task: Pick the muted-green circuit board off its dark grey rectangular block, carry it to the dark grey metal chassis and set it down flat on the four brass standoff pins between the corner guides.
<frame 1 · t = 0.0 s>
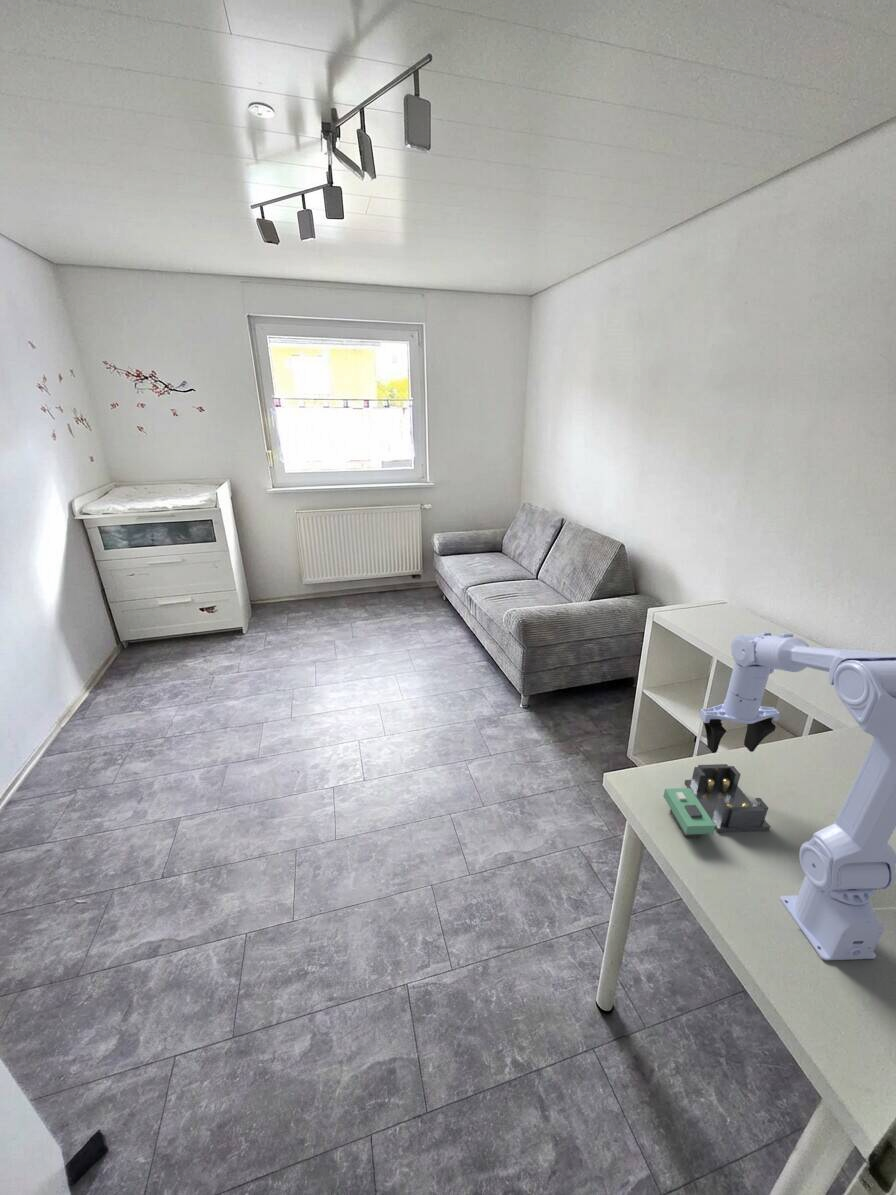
hand: (730, 748, 96), 10 cm above the table, fingers open, 7 cm apart
dark grey rectangular block: (684, 823, 91), on the table
board: (687, 814, 90), point 2 cm above the table, touching dark grey rectangular block
chassis: (724, 805, 95), on the table
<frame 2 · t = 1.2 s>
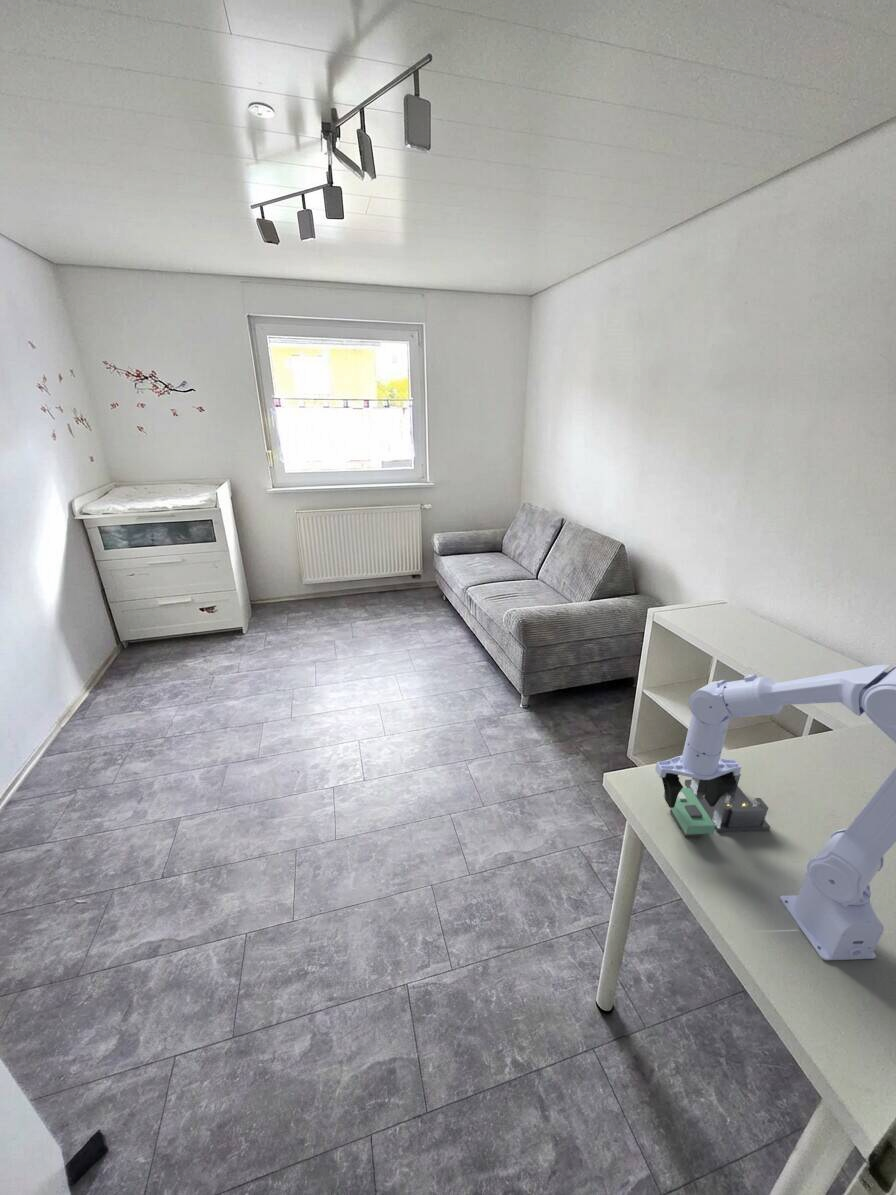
hand: (689, 803, 89), 5 cm above the table, fingers open, 7 cm apart
nothing on the table moved.
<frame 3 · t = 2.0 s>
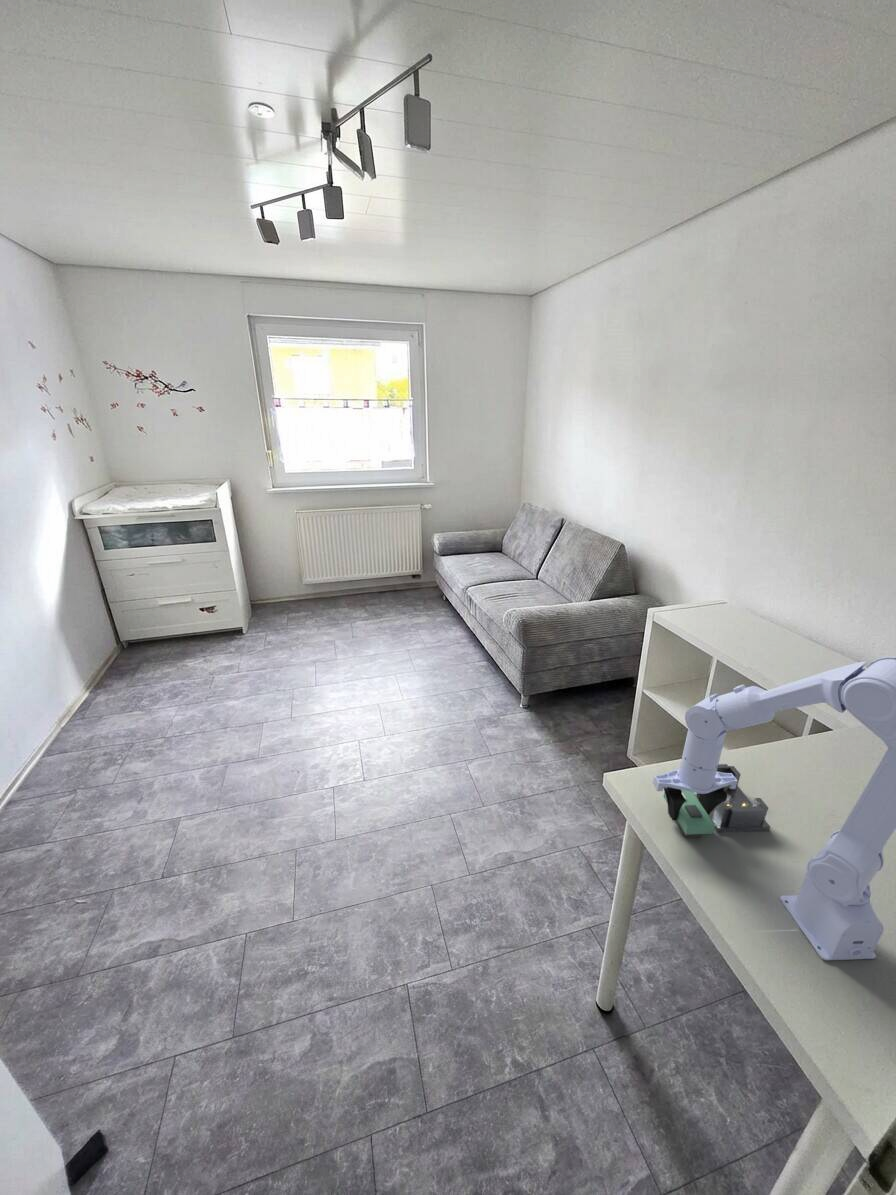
hand: (686, 815, 90), 2 cm above the table, fingers closed on board, 5 cm apart
board: (687, 814, 90), point 2 cm above the table, touching gripper, dark grey rectangular block
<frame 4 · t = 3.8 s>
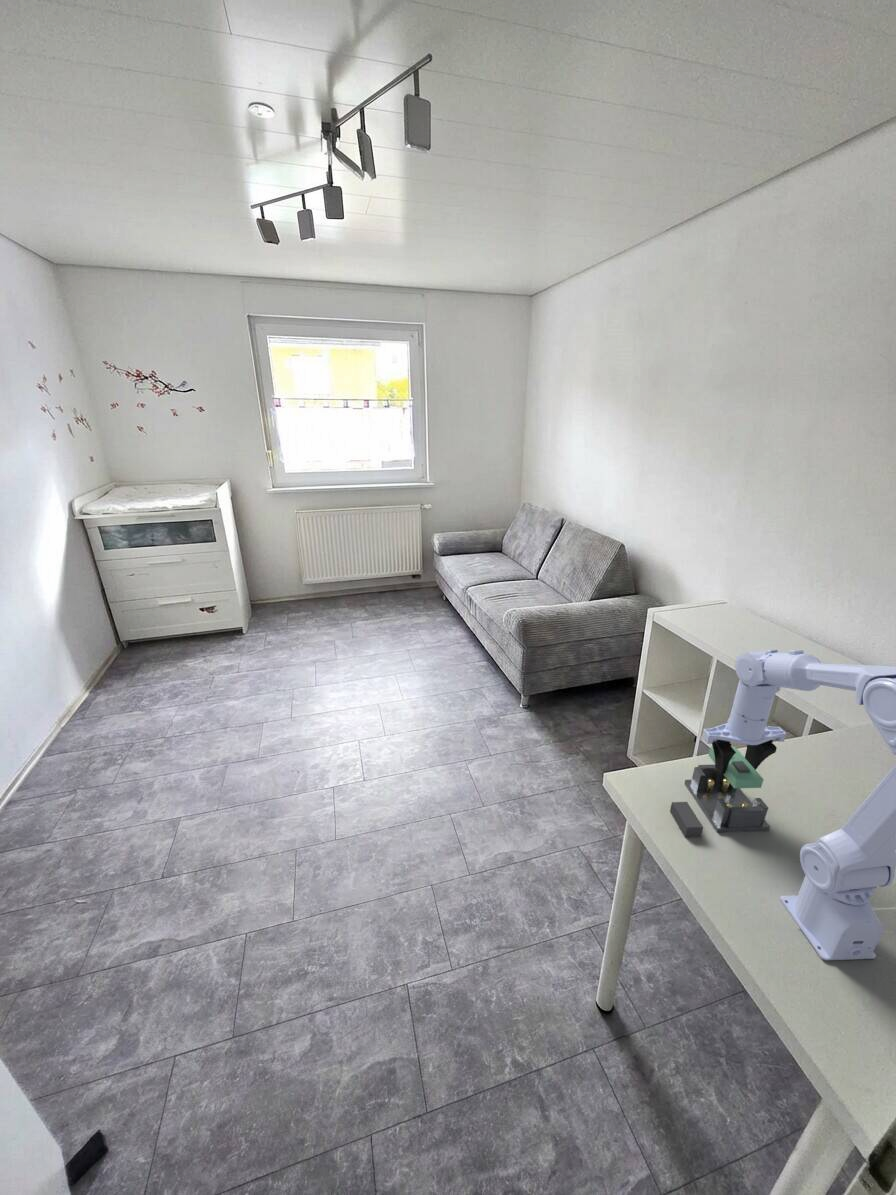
hand: (734, 770, 91), 9 cm above the table, fingers closed on board, 5 cm apart
board: (733, 770, 92), point 9 cm above the table, touching gripper
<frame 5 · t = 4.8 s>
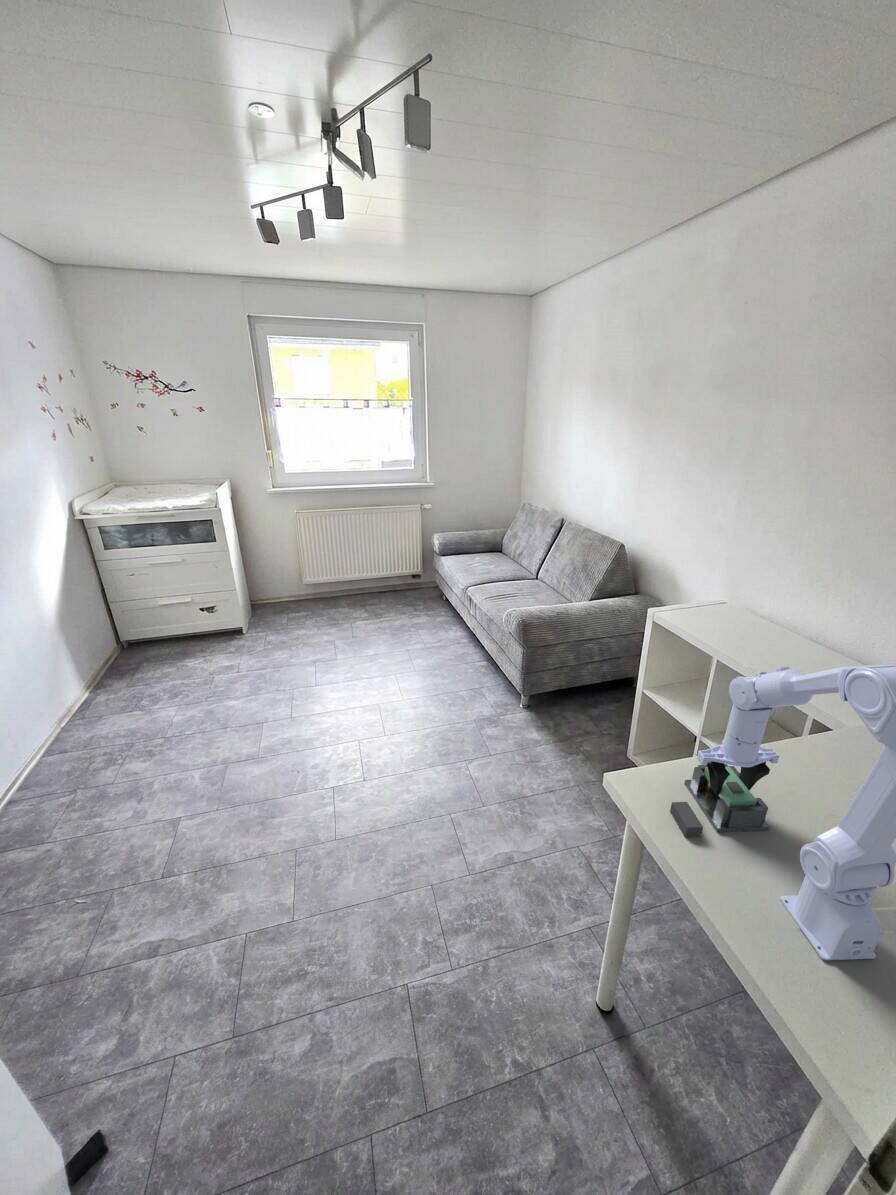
hand: (728, 790, 93), 4 cm above the table, fingers closed on board, 5 cm apart
board: (727, 790, 94), point 4 cm above the table, touching gripper
when the fingers open (4 cm above the table, at t = 5.5 s): board stays where it is, resting on chassis.
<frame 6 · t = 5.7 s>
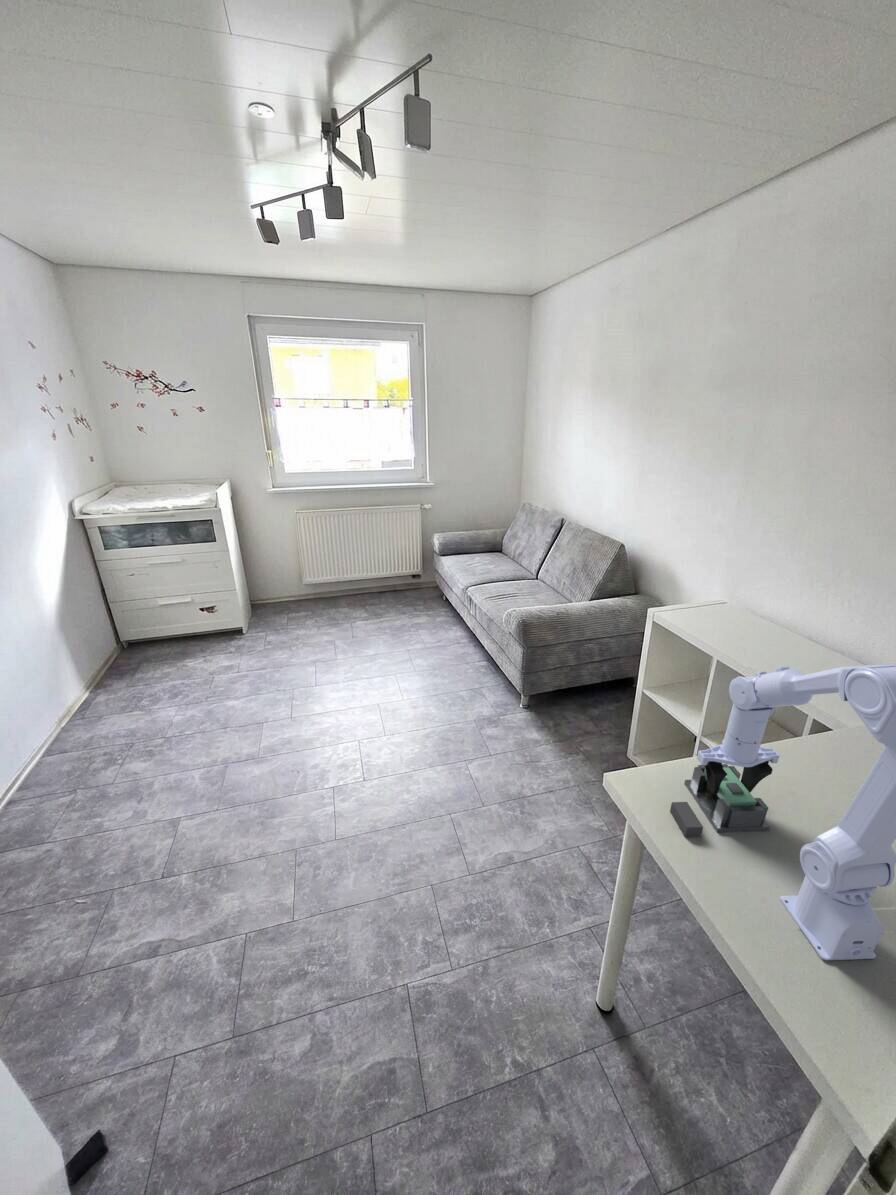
hand: (728, 790, 93), 4 cm above the table, fingers open, 6 cm apart
board: (727, 791, 94), point 3 cm above the table, touching chassis
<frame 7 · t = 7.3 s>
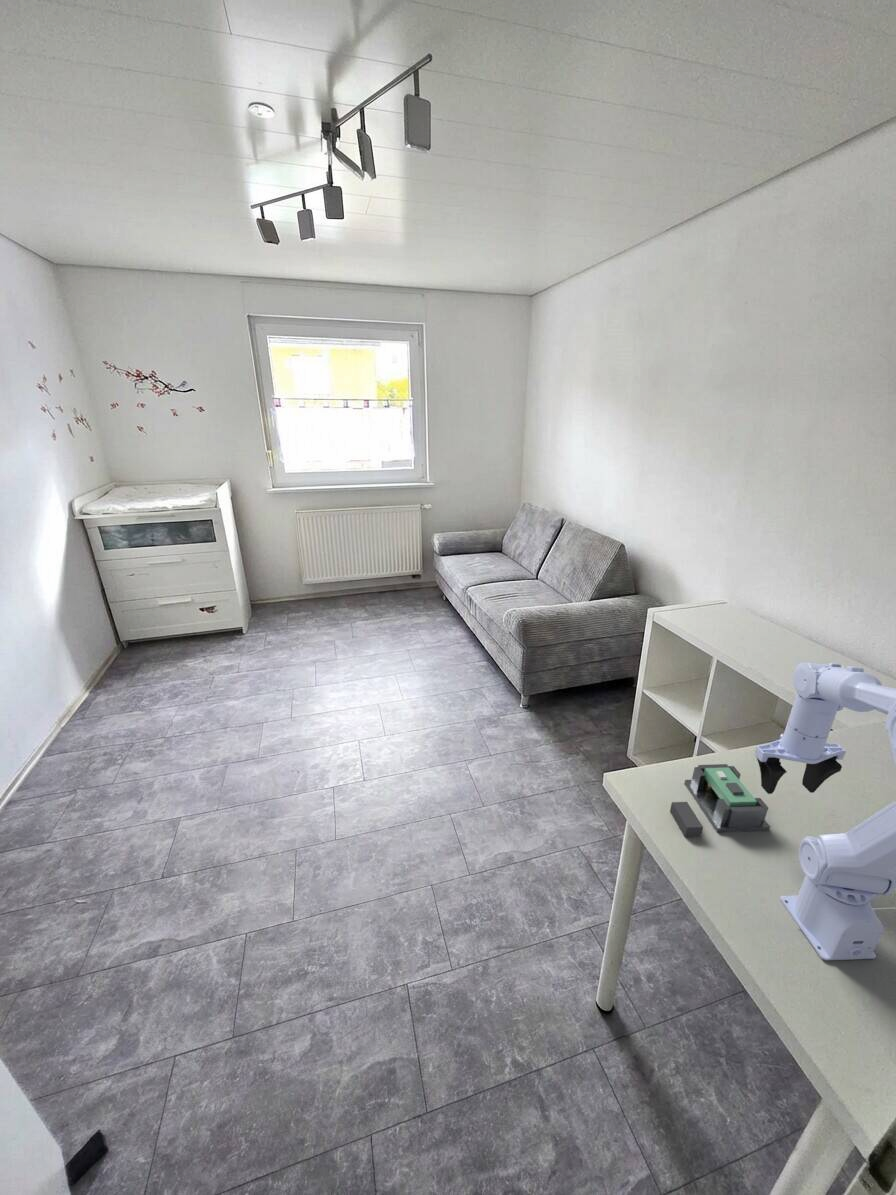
hand: (787, 789, 86), 10 cm above the table, fingers open, 7 cm apart
nothing on the table moved.
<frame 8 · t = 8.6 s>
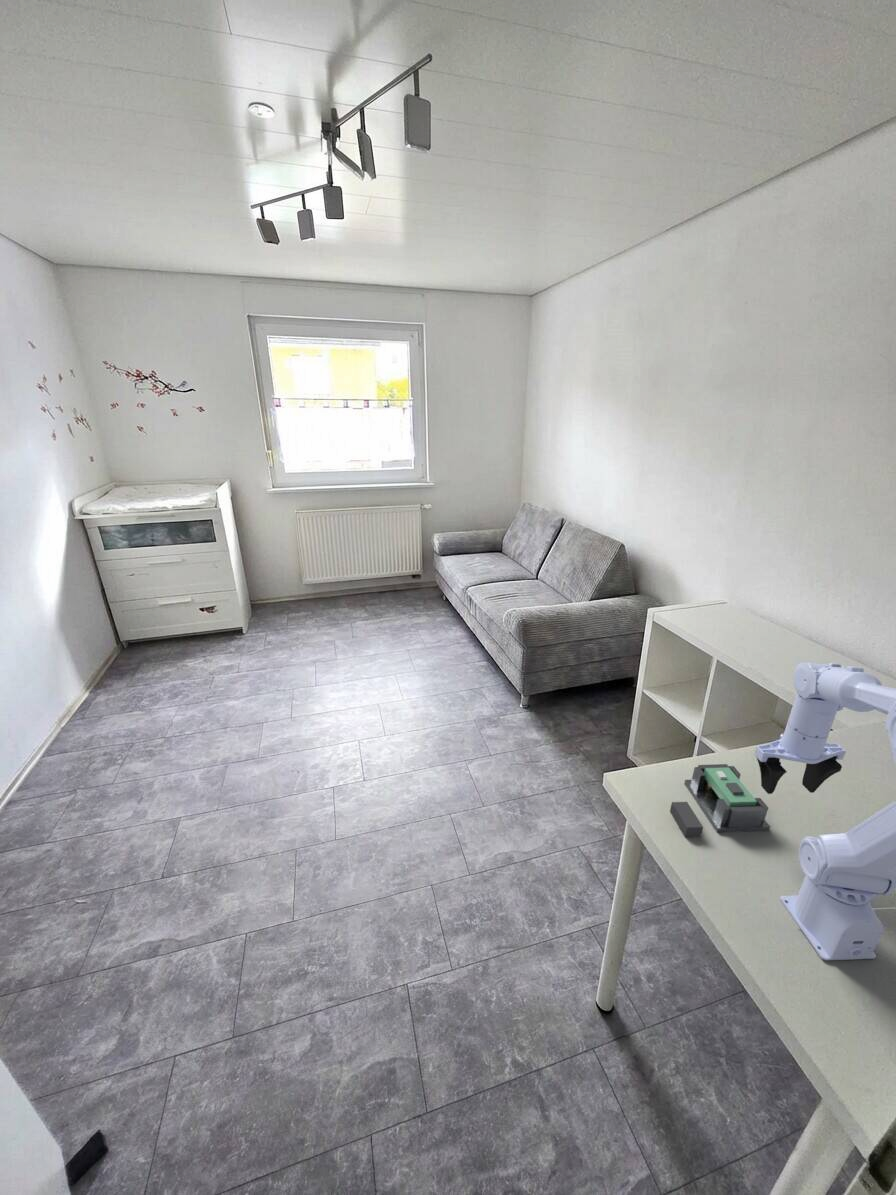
hand: (787, 789, 86), 10 cm above the table, fingers open, 7 cm apart
nothing on the table moved.
at the end: board 0.1 cm off-centre on the chassis, point 3.5 cm above the chassis's base; board tilted 0°; the gripper is holding nothing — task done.
